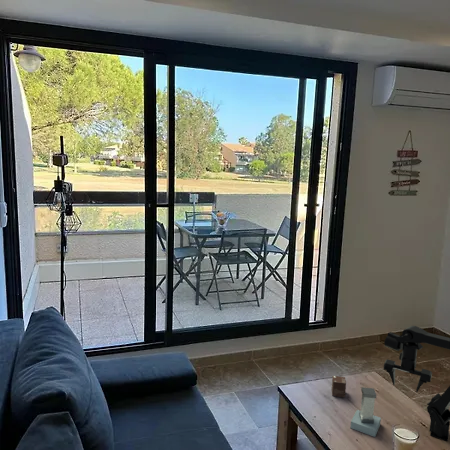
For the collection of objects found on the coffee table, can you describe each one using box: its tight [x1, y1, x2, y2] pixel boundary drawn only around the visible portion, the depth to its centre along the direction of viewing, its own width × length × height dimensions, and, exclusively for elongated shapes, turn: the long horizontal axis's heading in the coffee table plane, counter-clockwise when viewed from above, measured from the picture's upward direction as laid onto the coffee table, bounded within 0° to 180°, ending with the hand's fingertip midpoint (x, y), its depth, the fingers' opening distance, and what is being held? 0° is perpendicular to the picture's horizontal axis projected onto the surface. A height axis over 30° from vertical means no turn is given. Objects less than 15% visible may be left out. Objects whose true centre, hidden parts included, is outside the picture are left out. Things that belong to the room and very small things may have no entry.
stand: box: [350, 409, 382, 438], centre depth 172 cm, size 10×10×3 cm
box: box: [331, 375, 347, 398], centre depth 196 cm, size 6×6×7 cm
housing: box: [359, 387, 377, 424], centre depth 171 cm, size 5×5×13 cm
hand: (405, 388), depth 179 cm, fingers open, 9 cm apart
